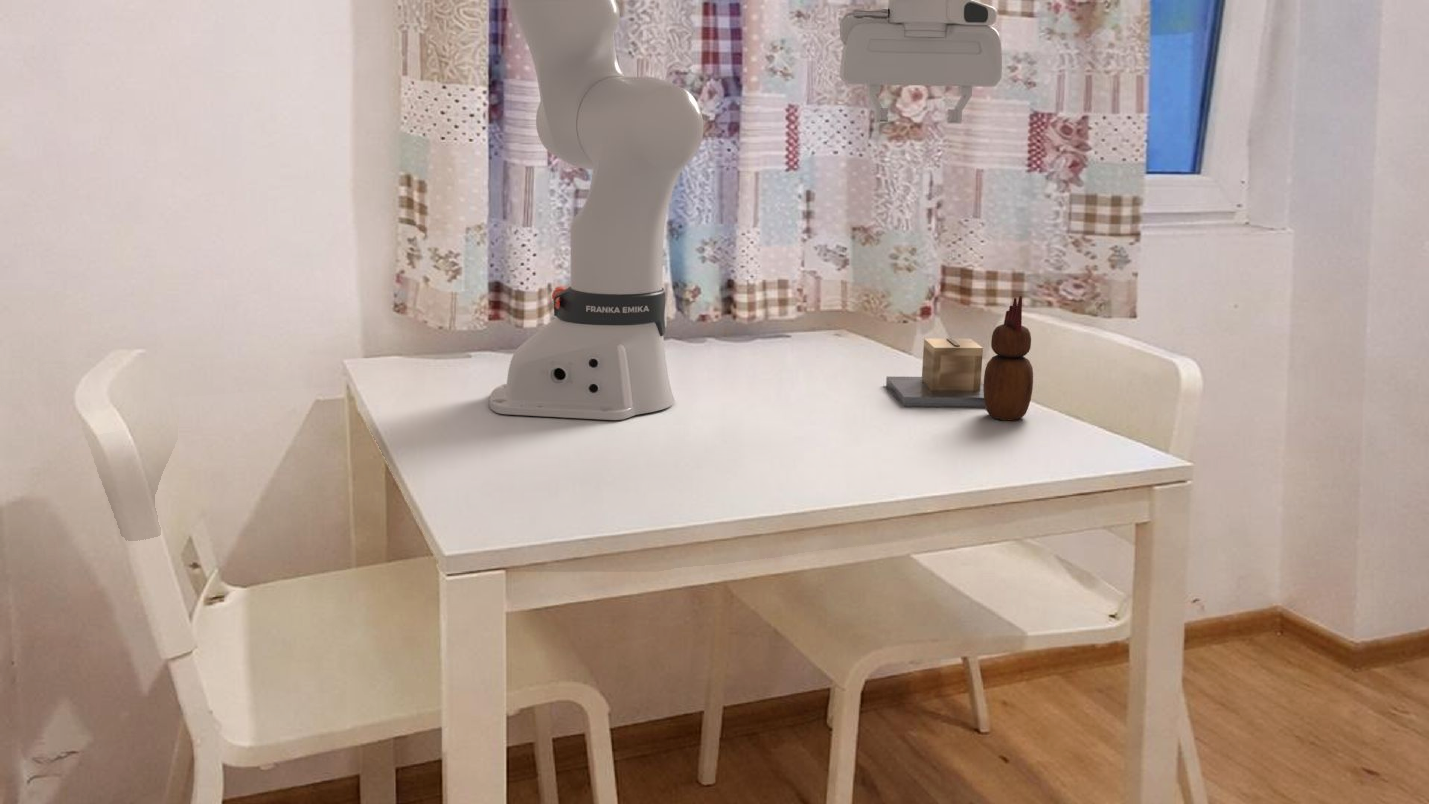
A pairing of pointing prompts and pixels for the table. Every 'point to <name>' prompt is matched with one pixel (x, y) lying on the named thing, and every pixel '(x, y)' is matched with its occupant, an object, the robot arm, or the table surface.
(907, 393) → the plate
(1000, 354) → the wooden figurine
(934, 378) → the wooden coin bank
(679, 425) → the table surface
